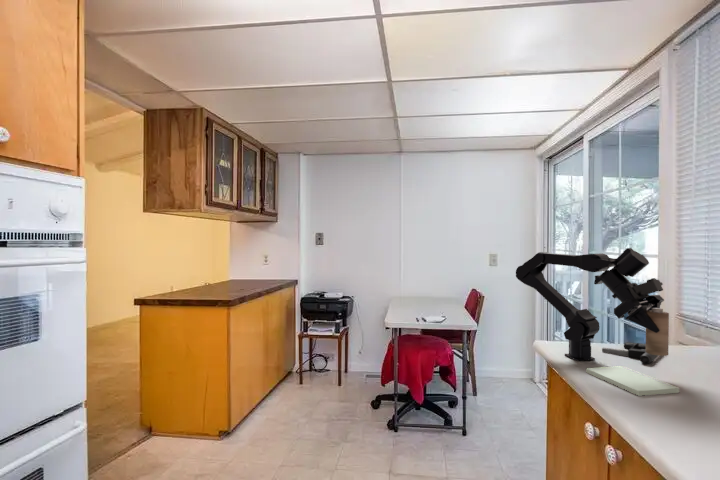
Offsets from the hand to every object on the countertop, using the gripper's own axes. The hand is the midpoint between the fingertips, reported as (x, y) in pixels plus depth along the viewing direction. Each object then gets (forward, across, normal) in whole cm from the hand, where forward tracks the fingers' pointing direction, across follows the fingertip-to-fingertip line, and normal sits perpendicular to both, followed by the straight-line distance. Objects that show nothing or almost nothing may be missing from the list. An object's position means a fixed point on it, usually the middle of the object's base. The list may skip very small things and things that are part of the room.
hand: (662, 330), depth 114 cm
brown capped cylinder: (+4, 0, +6) cm, 7 cm away
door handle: (-1, +19, +21) cm, 28 cm away
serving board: (+7, -10, +12) cm, 17 cm away
